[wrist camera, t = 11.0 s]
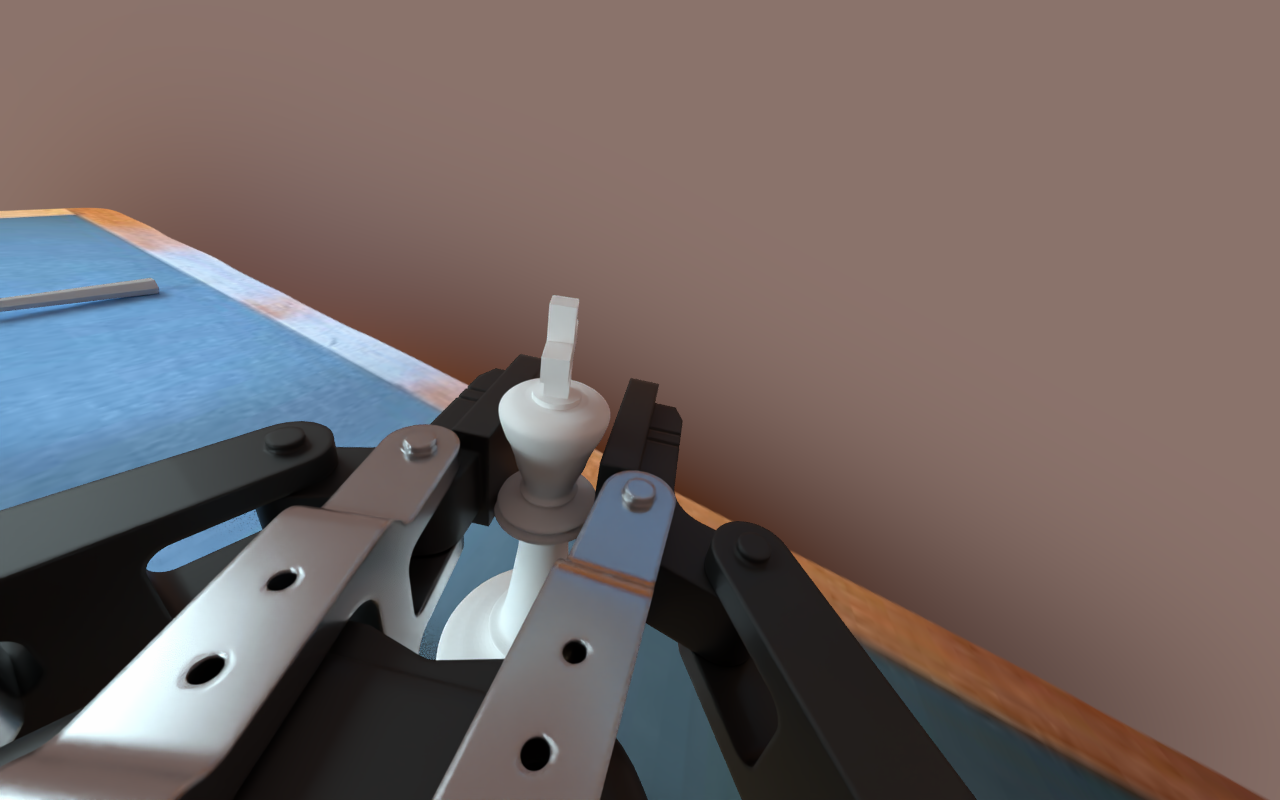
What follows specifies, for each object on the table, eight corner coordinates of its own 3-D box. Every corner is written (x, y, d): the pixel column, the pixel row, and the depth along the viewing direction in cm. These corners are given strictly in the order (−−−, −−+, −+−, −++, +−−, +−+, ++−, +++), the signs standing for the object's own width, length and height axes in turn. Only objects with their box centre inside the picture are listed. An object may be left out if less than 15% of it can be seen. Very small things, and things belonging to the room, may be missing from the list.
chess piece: (623, 584, 15) (693, 279, 10) (625, 767, 11) (747, 399, 6) (466, 572, 14) (453, 241, 9) (401, 760, 10) (315, 344, 5)
